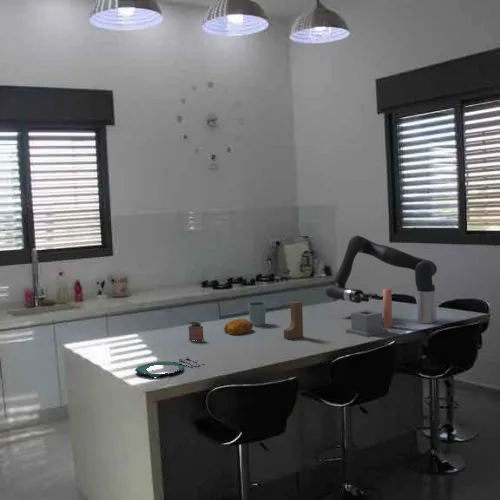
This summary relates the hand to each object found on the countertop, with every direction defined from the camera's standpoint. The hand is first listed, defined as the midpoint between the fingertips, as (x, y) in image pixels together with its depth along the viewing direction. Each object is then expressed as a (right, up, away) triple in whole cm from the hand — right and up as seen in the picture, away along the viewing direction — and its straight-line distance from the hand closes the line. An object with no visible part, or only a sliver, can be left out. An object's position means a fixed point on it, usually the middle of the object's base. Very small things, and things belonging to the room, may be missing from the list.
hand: (374, 298), depth 343 cm
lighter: (-94, -20, -19) cm, 98 cm away
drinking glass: (-63, -16, +14) cm, 66 cm away
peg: (+6, -14, -7) cm, 17 cm away
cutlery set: (-101, -25, -71) cm, 126 cm away
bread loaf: (-73, -18, -3) cm, 75 cm away
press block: (-7, -16, -17) cm, 24 cm away
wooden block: (-45, -18, -22) cm, 53 cm away
